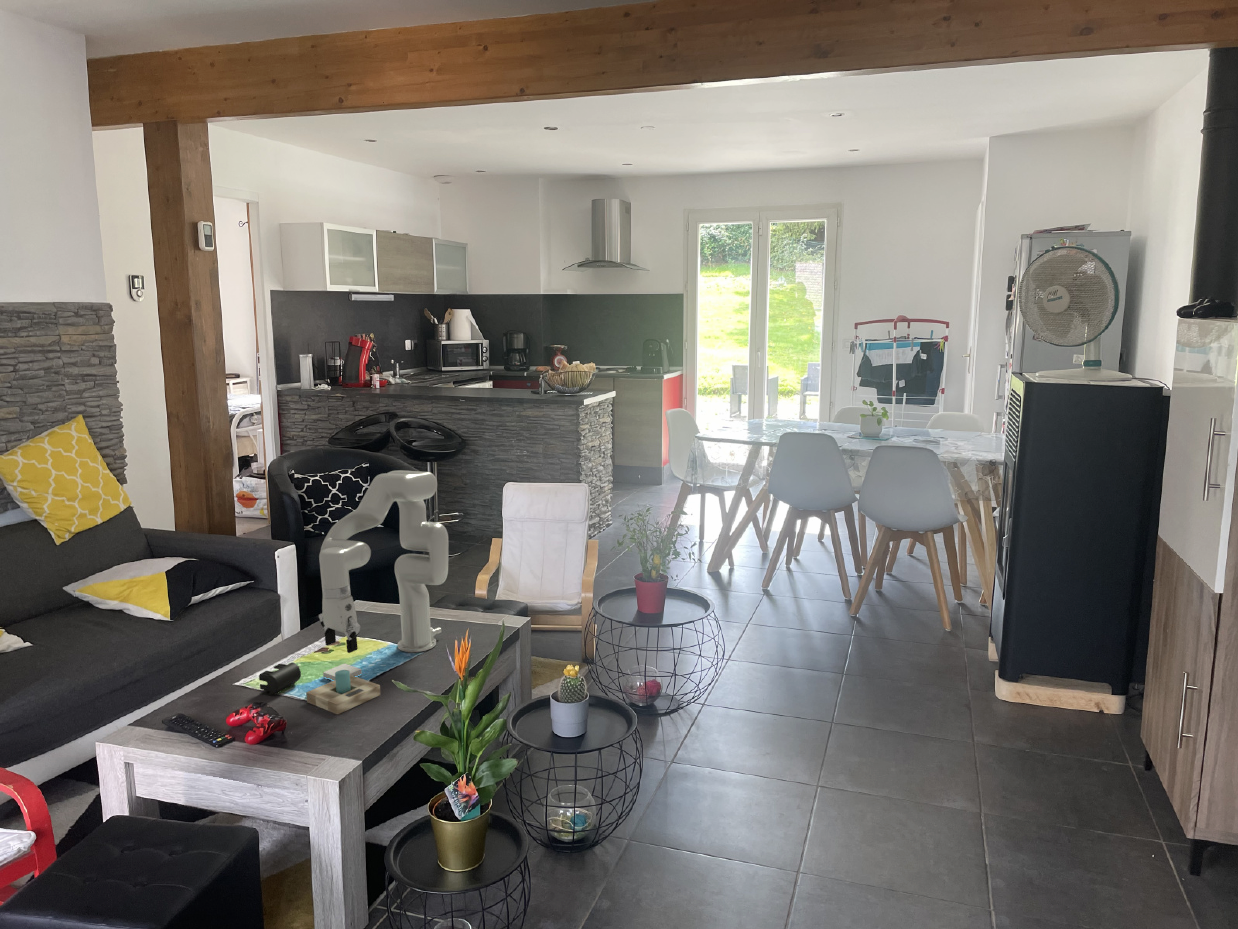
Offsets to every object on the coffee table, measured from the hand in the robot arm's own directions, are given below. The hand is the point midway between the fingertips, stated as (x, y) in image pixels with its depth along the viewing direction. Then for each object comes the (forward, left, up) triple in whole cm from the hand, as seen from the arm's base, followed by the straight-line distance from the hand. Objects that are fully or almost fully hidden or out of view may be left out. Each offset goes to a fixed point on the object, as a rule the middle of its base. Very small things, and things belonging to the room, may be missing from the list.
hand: (341, 647), depth 251 cm
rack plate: (+1, 0, -15) cm, 15 cm away
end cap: (+7, -21, -16) cm, 27 cm away
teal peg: (+1, 0, -15) cm, 15 cm away
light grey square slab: (-9, -13, -15) cm, 22 cm away
